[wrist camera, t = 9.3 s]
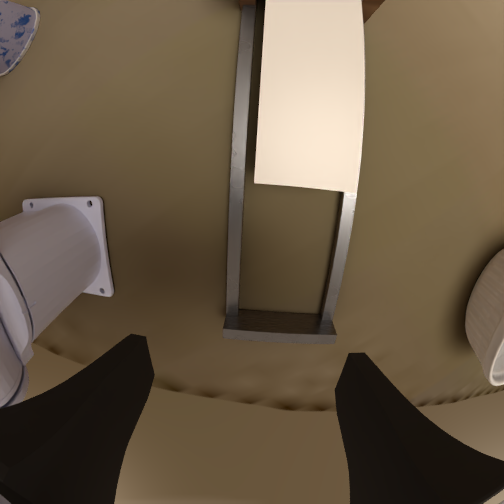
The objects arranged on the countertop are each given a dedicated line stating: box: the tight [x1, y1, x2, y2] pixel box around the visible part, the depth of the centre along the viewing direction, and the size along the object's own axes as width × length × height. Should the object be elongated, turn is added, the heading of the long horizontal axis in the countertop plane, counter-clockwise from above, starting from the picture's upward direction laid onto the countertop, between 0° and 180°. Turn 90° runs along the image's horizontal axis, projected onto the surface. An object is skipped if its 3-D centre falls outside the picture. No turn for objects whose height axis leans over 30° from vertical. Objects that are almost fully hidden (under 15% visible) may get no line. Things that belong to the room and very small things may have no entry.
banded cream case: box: [254, 0, 365, 193], centre depth 11 cm, size 5×14×5 cm, turn 177°
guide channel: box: [223, 5, 365, 344], centre depth 15 cm, size 8×22×2 cm, turn 177°
